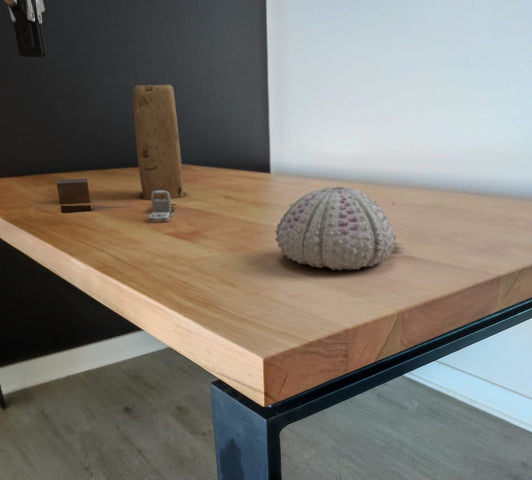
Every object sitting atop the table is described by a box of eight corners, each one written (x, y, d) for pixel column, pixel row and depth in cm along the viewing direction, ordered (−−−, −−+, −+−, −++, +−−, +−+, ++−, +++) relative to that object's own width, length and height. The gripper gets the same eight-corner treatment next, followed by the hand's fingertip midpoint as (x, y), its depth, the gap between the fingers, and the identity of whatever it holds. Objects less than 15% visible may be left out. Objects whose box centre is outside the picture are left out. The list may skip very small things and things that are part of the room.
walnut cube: (61, 213, 94) (56, 183, 91) (62, 208, 98) (57, 179, 96) (91, 211, 95) (87, 181, 93) (91, 206, 99) (86, 178, 97)
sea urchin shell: (330, 241, 70) (332, 177, 67) (419, 260, 61) (427, 186, 58) (252, 260, 63) (250, 188, 59) (340, 285, 53) (344, 201, 50)
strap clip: (167, 222, 84) (165, 194, 83) (148, 222, 84) (145, 194, 83) (175, 212, 92) (173, 186, 90) (157, 213, 92) (155, 187, 90)
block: (185, 206, 98) (176, 82, 90) (143, 208, 97) (129, 83, 88) (180, 197, 108) (171, 85, 99) (142, 199, 106) (129, 85, 98)
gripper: (3, -90, 75) (30, 61, 83) (-60, -133, 61) (-21, 52, 69) (57, -92, 75) (78, 60, 82) (5, -135, 61) (37, 51, 69)
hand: (33, 56), depth 76 cm, fingers closed
